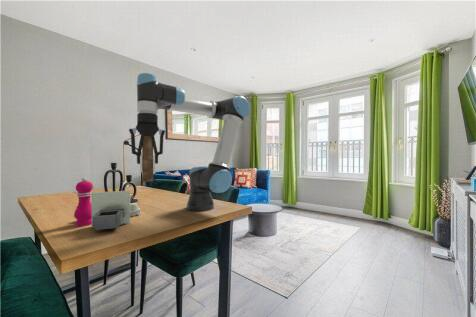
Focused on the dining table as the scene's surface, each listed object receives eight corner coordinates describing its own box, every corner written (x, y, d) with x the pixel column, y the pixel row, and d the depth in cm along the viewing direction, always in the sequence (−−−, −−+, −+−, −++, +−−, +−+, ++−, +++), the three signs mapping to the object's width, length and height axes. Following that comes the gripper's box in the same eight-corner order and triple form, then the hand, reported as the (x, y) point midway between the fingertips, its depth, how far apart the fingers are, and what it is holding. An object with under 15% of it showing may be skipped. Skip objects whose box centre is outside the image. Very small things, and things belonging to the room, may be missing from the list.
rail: (153, 180, 88) (153, 136, 88) (153, 181, 84) (153, 136, 84) (142, 180, 86) (142, 136, 86) (142, 181, 83) (142, 135, 83)
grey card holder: (130, 222, 93) (130, 190, 93) (127, 231, 82) (127, 195, 82) (92, 226, 88) (92, 192, 88) (84, 236, 77) (83, 197, 77)
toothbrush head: (78, 212, 96) (138, 199, 108) (81, 226, 97) (140, 212, 108) (76, 215, 92) (139, 201, 103) (78, 229, 92) (141, 214, 104)
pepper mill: (71, 227, 86) (71, 178, 86) (76, 222, 93) (76, 177, 93) (92, 225, 89) (92, 177, 89) (96, 220, 96) (96, 176, 95)
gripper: (169, 117, 92) (169, 170, 92) (124, 114, 85) (124, 172, 86) (170, 113, 85) (170, 172, 85) (122, 110, 78) (122, 173, 79)
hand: (147, 171), depth 85 cm, fingers closed on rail, 4 cm apart
